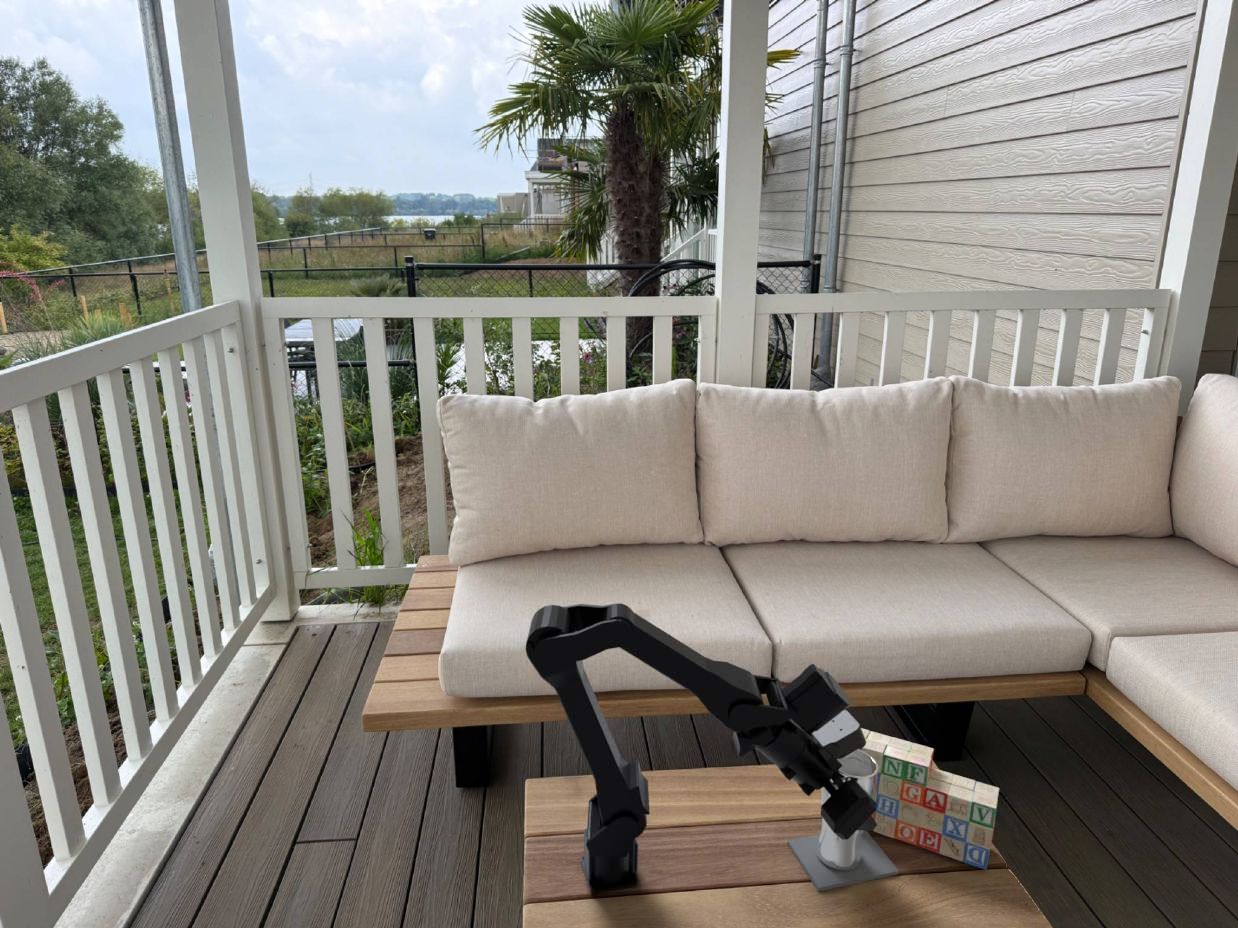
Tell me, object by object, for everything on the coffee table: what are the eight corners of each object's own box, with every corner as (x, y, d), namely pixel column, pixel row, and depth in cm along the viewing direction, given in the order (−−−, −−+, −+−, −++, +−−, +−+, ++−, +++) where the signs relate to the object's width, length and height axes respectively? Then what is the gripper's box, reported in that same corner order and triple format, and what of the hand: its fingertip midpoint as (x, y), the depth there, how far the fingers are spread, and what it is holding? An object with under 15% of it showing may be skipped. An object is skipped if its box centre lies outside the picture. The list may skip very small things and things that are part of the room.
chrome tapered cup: (843, 881, 107) (859, 785, 103) (802, 850, 112) (815, 757, 108) (874, 858, 111) (890, 765, 107) (832, 829, 116) (846, 739, 112)
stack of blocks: (991, 847, 114) (1003, 767, 112) (986, 871, 109) (1000, 788, 107) (840, 796, 124) (849, 722, 122) (830, 816, 119) (839, 739, 117)
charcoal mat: (818, 891, 106) (818, 887, 106) (787, 843, 115) (787, 840, 114) (898, 874, 109) (898, 870, 109) (862, 829, 118) (862, 825, 117)
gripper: (870, 742, 95) (939, 806, 101) (797, 665, 113) (860, 723, 119) (804, 809, 96) (878, 870, 101) (742, 722, 113) (807, 777, 119)
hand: (855, 804), depth 110 cm, fingers open, 9 cm apart
